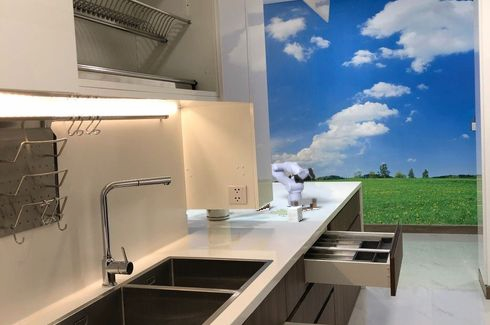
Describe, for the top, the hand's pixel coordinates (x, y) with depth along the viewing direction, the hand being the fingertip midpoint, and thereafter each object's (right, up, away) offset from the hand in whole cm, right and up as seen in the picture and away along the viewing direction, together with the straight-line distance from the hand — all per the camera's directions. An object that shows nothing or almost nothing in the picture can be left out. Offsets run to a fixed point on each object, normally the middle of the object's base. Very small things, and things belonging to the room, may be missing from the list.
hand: (308, 179), depth 294 cm
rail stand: (-2, -18, +4) cm, 19 cm away
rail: (-2, -15, +4) cm, 15 cm away
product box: (-11, -21, -28) cm, 37 cm away
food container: (-27, -20, +17) cm, 38 cm away
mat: (-15, -20, 0) cm, 25 cm away
